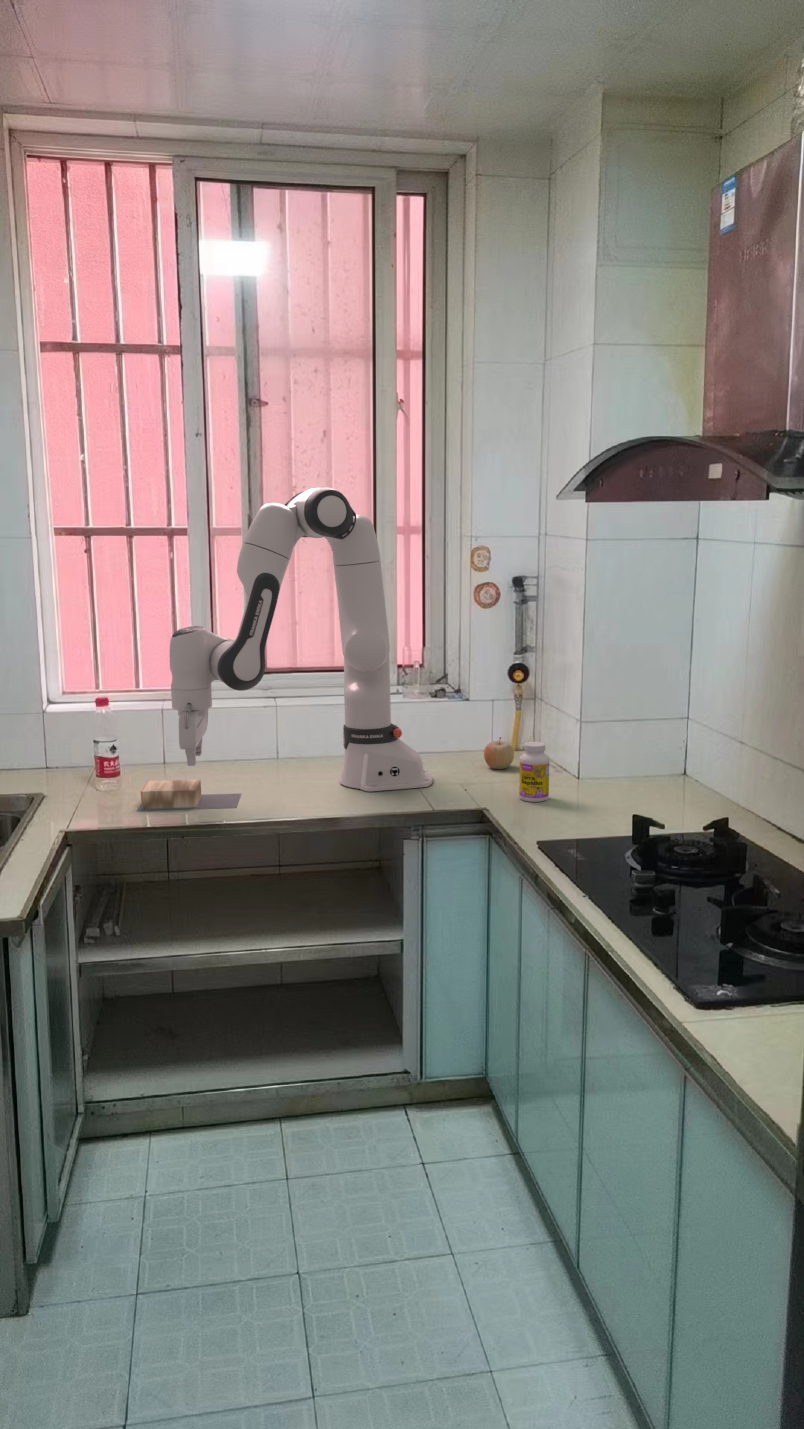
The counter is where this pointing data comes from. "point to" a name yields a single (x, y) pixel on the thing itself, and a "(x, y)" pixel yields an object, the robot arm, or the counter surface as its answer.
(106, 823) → the counter surface
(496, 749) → the fruit
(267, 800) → the counter surface
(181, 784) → the wooden block
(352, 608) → the robot arm
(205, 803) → the rubber mat
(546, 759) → the supplement bottle
